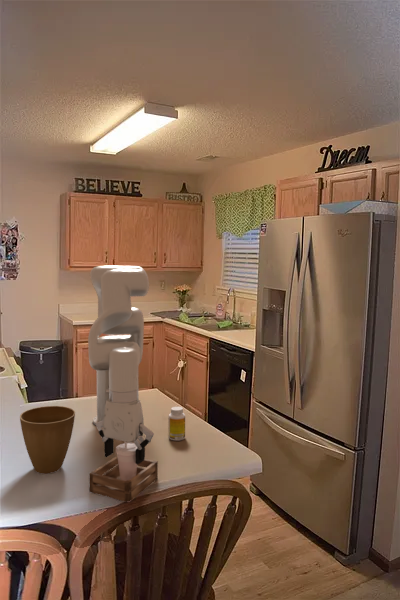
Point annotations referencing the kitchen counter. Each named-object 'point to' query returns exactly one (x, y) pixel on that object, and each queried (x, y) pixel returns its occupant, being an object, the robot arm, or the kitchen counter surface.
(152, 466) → the crate
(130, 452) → the smoothie
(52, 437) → the plant pot
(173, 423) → the supplement bottle
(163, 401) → the kitchen counter surface
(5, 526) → the kitchen counter surface
